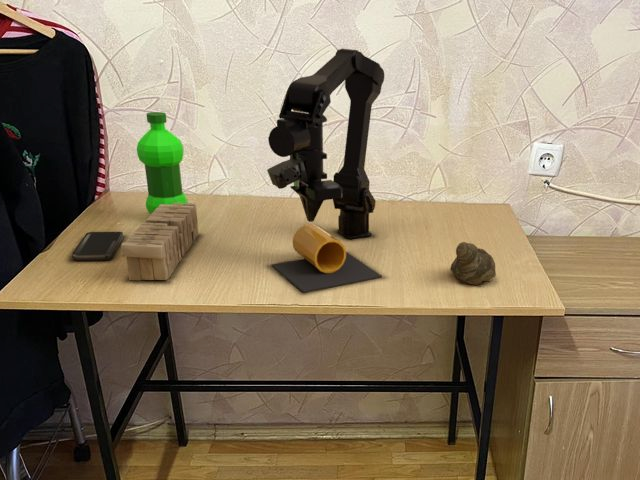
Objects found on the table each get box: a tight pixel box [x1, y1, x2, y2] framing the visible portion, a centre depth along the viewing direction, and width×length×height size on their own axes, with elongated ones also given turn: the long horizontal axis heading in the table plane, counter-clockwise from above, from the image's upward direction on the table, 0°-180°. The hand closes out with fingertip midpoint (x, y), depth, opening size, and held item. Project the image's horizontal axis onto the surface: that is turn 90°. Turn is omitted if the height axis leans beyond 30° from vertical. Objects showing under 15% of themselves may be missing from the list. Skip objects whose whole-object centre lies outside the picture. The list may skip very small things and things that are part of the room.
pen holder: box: [292, 223, 347, 273], centre depth 153 cm, size 7×7×11 cm
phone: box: [71, 231, 125, 262], centre depth 156 cm, size 8×1×15 cm
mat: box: [271, 251, 383, 294], centre depth 152 cm, size 18×16×1 cm
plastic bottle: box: [136, 111, 189, 215], centre depth 171 cm, size 10×10×25 cm
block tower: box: [120, 202, 199, 281], centre depth 153 cm, size 8×8×29 cm
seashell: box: [450, 241, 497, 286], centre depth 152 cm, size 11×12×10 cm
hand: (310, 221), depth 153 cm, fingers closed
